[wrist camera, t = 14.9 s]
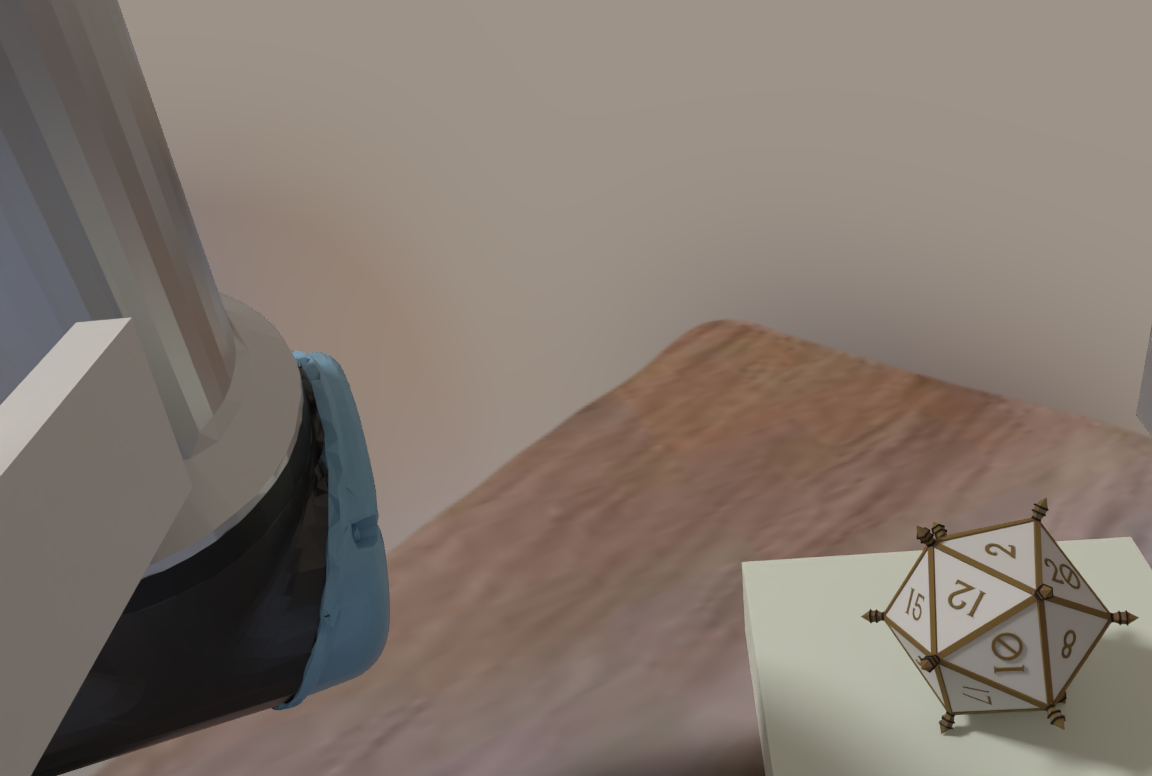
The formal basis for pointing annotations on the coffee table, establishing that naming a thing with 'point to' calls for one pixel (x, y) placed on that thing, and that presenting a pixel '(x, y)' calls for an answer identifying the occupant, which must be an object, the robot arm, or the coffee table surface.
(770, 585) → the base block
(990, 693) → the game die
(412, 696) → the coffee table surface
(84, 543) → the robot arm
